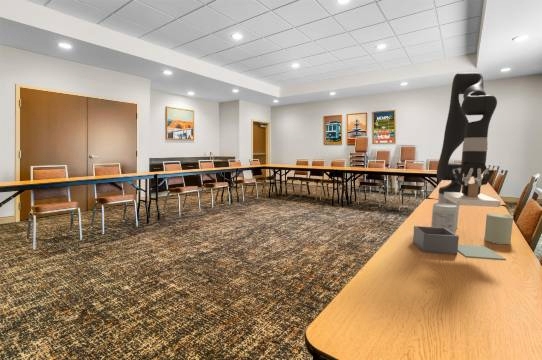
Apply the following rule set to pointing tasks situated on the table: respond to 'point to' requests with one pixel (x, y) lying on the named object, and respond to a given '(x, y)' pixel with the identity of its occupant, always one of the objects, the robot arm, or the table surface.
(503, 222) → the can
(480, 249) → the mat
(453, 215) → the supplement tub
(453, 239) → the box
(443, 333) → the table surface
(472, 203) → the lid
